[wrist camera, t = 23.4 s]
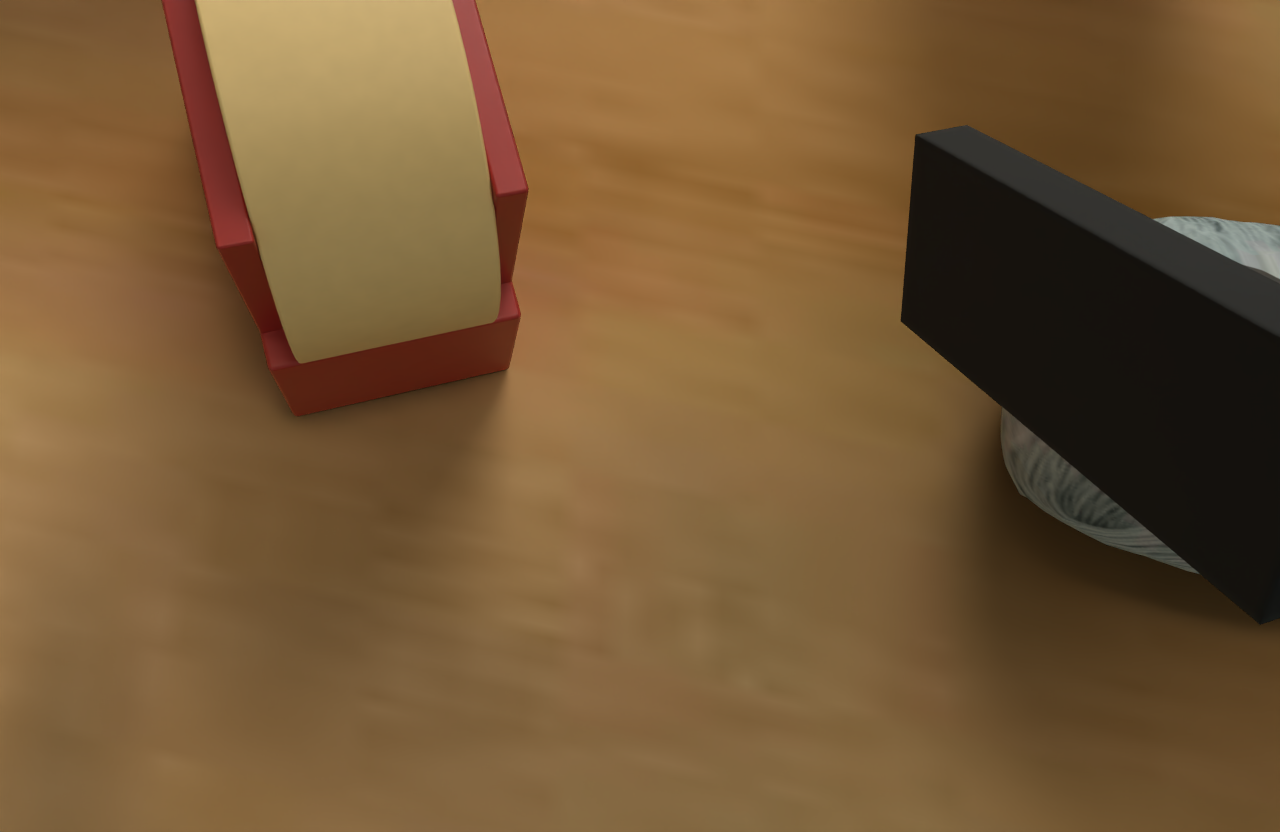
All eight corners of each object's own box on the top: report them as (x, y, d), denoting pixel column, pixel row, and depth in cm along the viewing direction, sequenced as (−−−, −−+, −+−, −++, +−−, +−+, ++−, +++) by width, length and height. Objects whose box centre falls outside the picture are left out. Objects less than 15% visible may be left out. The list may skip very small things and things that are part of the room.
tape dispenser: (422, 46, 28) (415, -259, 19) (512, 377, 26) (552, 217, 17) (216, 77, 27) (102, -234, 18) (295, 426, 25) (215, 282, 16)
